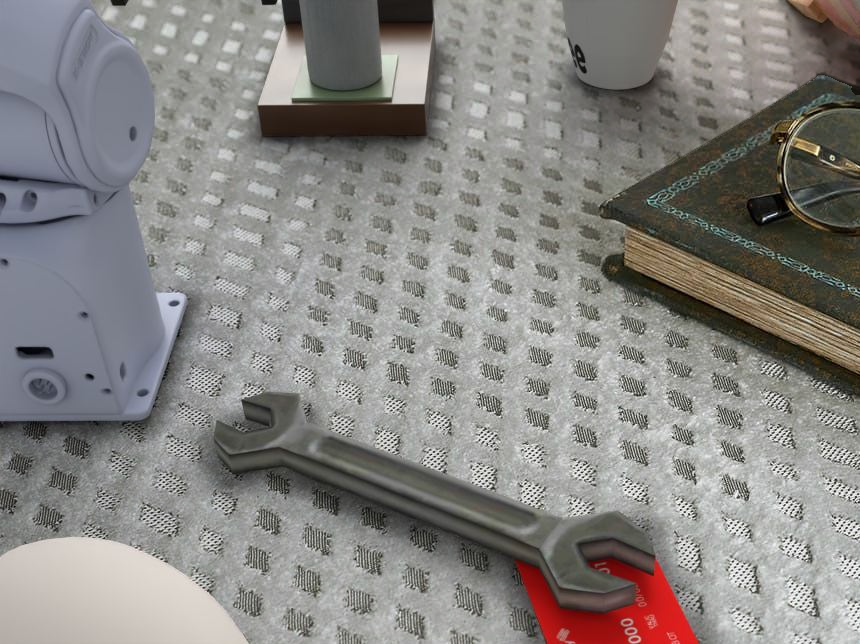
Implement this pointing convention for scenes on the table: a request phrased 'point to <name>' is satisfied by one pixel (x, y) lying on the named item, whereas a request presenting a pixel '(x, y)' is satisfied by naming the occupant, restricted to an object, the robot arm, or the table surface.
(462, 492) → the wrench
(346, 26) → the grey hollow cylinder
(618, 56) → the cup
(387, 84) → the box with green square
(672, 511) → the table surface
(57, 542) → the egg
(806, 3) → the planter
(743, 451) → the table surface
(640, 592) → the credit card
